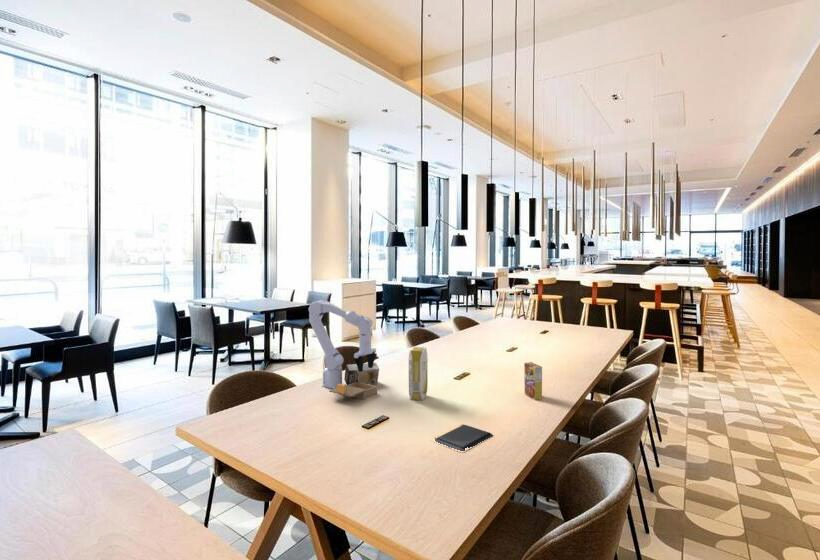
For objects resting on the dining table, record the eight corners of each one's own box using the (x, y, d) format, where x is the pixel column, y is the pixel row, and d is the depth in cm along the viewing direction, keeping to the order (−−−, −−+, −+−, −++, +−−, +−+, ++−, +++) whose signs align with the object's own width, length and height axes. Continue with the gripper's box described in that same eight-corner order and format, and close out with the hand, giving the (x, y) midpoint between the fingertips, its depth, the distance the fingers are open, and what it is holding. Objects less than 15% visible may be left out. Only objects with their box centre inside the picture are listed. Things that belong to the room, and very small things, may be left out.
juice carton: (424, 401, 200) (424, 348, 198) (407, 400, 201) (407, 348, 200) (428, 394, 209) (428, 344, 207) (411, 393, 210) (411, 343, 209)
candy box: (523, 394, 209) (523, 362, 208) (531, 393, 210) (531, 361, 209) (534, 400, 200) (534, 367, 199) (542, 399, 202) (542, 366, 201)
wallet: (461, 449, 149) (428, 436, 159) (461, 455, 149) (428, 441, 159) (495, 432, 163) (463, 421, 173) (495, 437, 163) (463, 425, 174)
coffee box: (377, 384, 226) (346, 386, 220) (374, 377, 232) (344, 379, 226) (379, 368, 223) (348, 371, 217) (376, 361, 229) (345, 364, 223)
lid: (329, 391, 203) (328, 383, 202) (344, 385, 211) (344, 377, 211) (351, 396, 195) (351, 388, 195) (366, 390, 204) (366, 382, 203)
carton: (342, 394, 210) (342, 386, 210) (356, 388, 218) (356, 381, 218) (363, 399, 203) (363, 391, 202) (377, 393, 211) (377, 386, 211)
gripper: (361, 346, 209) (362, 374, 210) (380, 340, 221) (380, 367, 222) (350, 344, 213) (351, 372, 214) (369, 339, 225) (370, 365, 226)
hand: (365, 369), depth 218 cm, fingers open, 7 cm apart
